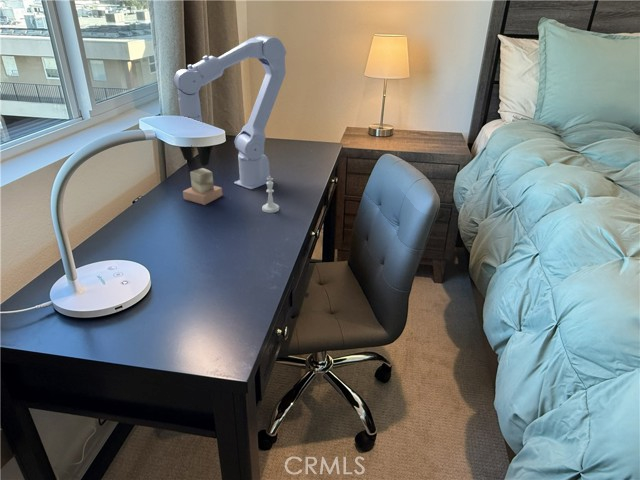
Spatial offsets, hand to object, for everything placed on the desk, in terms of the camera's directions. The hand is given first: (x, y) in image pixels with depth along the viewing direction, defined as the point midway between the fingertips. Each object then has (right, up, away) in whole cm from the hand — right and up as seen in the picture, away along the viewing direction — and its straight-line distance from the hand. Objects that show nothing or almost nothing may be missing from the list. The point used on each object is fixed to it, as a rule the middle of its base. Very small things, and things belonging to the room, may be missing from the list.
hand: (196, 161), depth 131 cm
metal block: (+2, -8, +1) cm, 8 cm away
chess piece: (+22, -14, -4) cm, 27 cm away
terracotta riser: (+1, -11, +2) cm, 11 cm away
